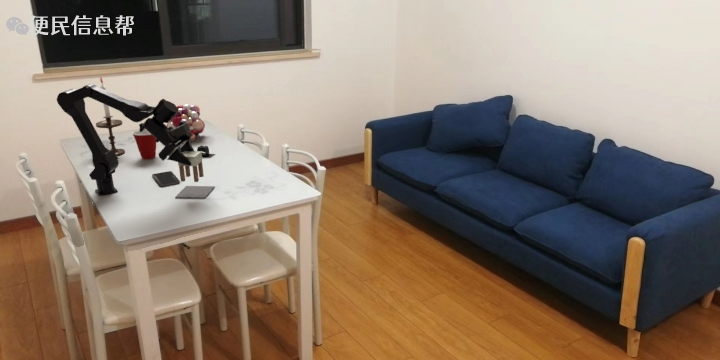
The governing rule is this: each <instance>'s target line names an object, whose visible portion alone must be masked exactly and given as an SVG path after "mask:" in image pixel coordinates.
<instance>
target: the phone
mask: <svg viewBox="0 0 720 360" xmlns="http://www.w3.org/2000/svg"><path fill="white" fill-rule="evenodd" d="M151 175H152V176H151V177H152V178H153V180H154V181H155V182H156V184H157V185H158V187H160V188H164V187H169V186H170V185H171V186H175V185H179V183H181V180H179V178H178V177H177V176H176V175H175V174H174V172H173V171H171V170H170V171H169V170H168V171H163V172H157V173H152V174H151ZM171 186H170V187H171Z"/></svg>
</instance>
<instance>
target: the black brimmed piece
mask: <svg viewBox="0 0 720 360" xmlns="http://www.w3.org/2000/svg"><path fill="white" fill-rule="evenodd" d="M196 151H201V153H202V158H206V159H210V158H212V157H214V156H216V154H215V153H210V149H209V146H208V145H200V146H197V149H196Z"/></svg>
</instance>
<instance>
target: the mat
mask: <svg viewBox="0 0 720 360" xmlns="http://www.w3.org/2000/svg"><path fill="white" fill-rule="evenodd" d="M215 188H216V187H215V186H214V185H213V186H211V185H186V186H185V187H184V188H183V189H181V190H180V191H179V193H177V194H176V196H175V199H202V200H203V199H206V198H207V197H208V196H209V195H210V194H211V193H212V191H213V190H214V189H215Z"/></svg>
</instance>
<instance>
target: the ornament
mask: <svg viewBox="0 0 720 360" xmlns="http://www.w3.org/2000/svg"><path fill="white" fill-rule="evenodd" d="M176 107H177V108H178V112H177V113H176V115H175V116H174V117H173V118H172V119H171V120H170V121H169V122H168V123H166V126H167V127H168V128H169V127H173V128H176V127H178V126H179V123H180V122H182V121H185V122H186V123H188V124H189V125H190V126H189V128H190V130H191V131H189V132H190V133H191V134H192V135H193V136H192V137H191V143H192V142H194V141H195V140H196V138H198V137H199V135H200V134H202V133H203V132H204V130H205V126H206V123H205V122H204V120H202V118H200V115H201V113H200V111H201V110H200V107H199V106H198V105H196V104H192V105H190V104H189V103H186V104H184V105H183V104H179V105H177V106H176Z"/></svg>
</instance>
